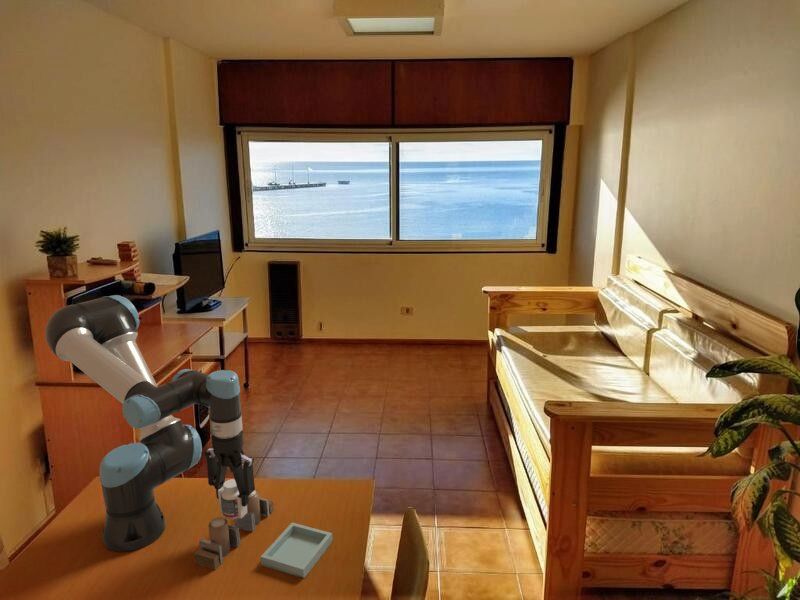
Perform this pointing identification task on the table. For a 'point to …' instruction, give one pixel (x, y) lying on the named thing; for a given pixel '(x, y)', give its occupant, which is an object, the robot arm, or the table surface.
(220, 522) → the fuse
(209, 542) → the clip rail
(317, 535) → the tray
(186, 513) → the table surface
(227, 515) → the pill bottle
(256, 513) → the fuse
